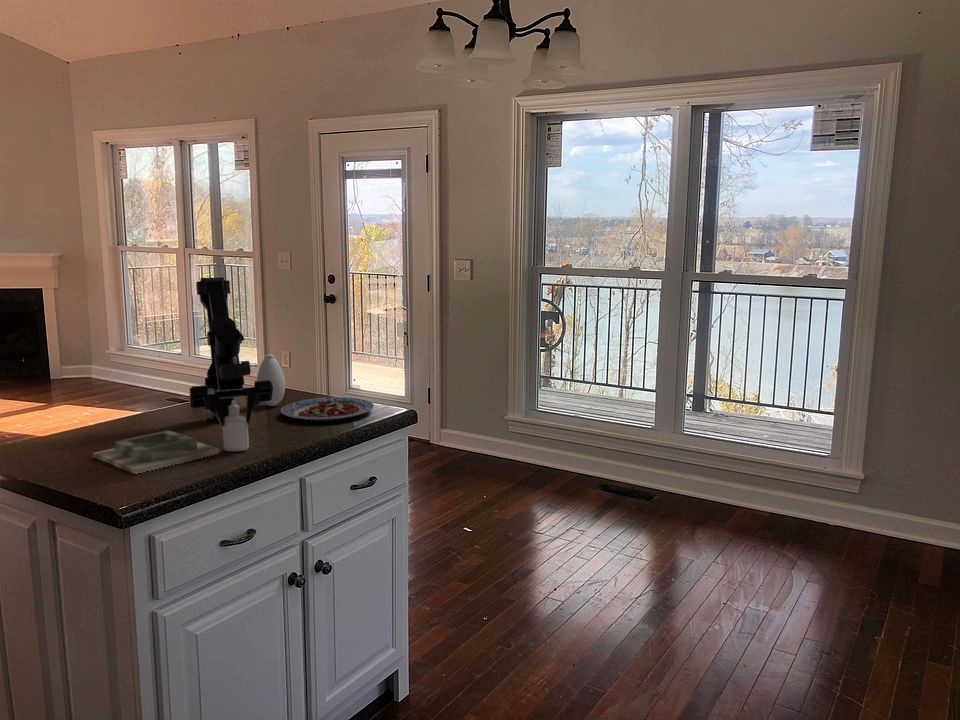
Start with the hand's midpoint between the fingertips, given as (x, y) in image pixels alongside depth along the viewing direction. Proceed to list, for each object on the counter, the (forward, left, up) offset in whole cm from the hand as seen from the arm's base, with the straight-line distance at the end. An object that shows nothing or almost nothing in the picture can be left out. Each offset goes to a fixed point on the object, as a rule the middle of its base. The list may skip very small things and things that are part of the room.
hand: (235, 423), depth 179 cm
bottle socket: (-12, -13, -7) cm, 19 cm away
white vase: (-34, +34, -7) cm, 48 cm away
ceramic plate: (-13, +38, -7) cm, 40 cm away
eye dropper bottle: (-1, +1, -7) cm, 7 cm away
